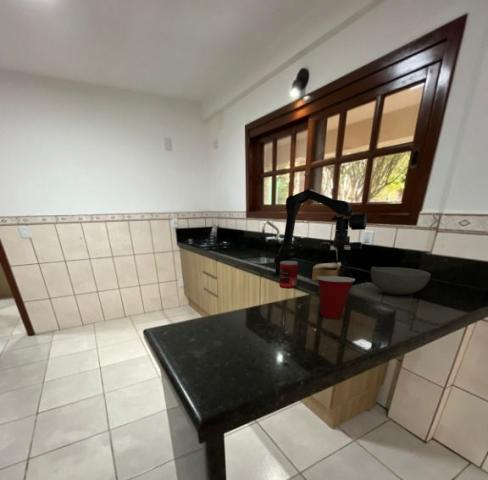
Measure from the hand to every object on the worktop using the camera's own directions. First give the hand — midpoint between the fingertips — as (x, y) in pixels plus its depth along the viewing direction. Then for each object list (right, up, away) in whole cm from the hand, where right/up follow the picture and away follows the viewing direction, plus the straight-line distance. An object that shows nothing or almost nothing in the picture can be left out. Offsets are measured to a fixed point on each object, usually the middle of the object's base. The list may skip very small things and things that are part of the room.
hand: (338, 264), depth 129 cm
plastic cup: (-20, -27, -48) cm, 59 cm away
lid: (-5, -1, +3) cm, 5 cm away
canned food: (-27, -13, -11) cm, 32 cm away
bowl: (+14, -18, -24) cm, 33 cm away
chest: (-5, -7, +5) cm, 10 cm away
